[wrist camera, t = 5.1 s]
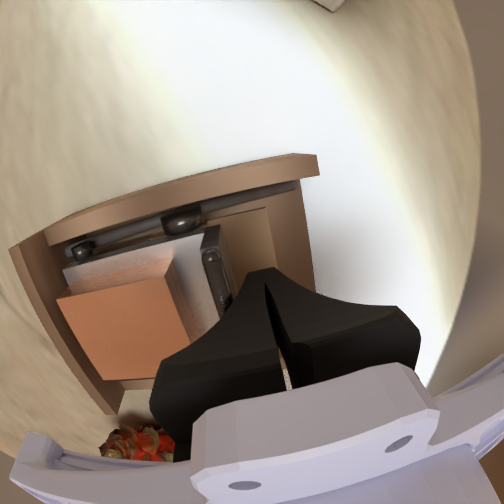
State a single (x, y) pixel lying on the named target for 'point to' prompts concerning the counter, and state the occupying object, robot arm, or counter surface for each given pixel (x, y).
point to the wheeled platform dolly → (148, 296)
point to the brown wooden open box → (150, 228)
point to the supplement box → (330, 4)
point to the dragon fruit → (139, 444)
